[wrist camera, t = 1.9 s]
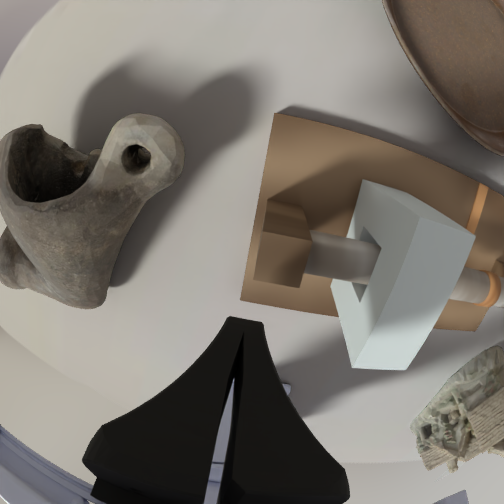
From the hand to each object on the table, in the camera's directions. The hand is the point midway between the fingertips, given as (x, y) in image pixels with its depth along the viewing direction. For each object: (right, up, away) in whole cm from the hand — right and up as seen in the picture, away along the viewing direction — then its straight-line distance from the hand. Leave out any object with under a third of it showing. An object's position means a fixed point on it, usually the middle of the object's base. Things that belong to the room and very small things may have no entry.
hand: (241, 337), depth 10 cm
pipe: (-12, +7, +8) cm, 16 cm away
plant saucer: (+16, +19, 0) cm, 25 cm away
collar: (+7, +4, +5) cm, 10 cm away
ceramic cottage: (+28, -16, +14) cm, 35 cm away
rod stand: (+11, +4, +6) cm, 14 cm away
